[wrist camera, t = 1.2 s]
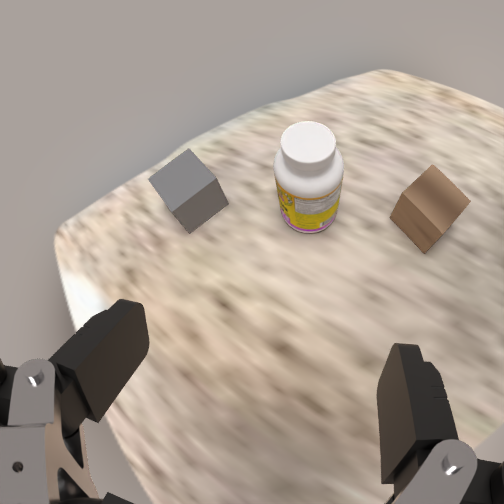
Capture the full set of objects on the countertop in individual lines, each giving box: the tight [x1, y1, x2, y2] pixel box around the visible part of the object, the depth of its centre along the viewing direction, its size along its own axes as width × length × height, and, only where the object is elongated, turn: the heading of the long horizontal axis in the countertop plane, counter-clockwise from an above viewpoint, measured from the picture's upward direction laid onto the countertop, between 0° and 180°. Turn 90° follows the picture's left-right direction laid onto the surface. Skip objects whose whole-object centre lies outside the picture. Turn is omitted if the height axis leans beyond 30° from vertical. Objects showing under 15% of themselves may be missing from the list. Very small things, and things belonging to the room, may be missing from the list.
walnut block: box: [390, 164, 471, 254], centre depth 32 cm, size 6×6×6 cm
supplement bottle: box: [273, 121, 344, 233], centre depth 31 cm, size 7×7×13 cm
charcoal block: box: [148, 149, 229, 234], centre depth 37 cm, size 6×6×6 cm
